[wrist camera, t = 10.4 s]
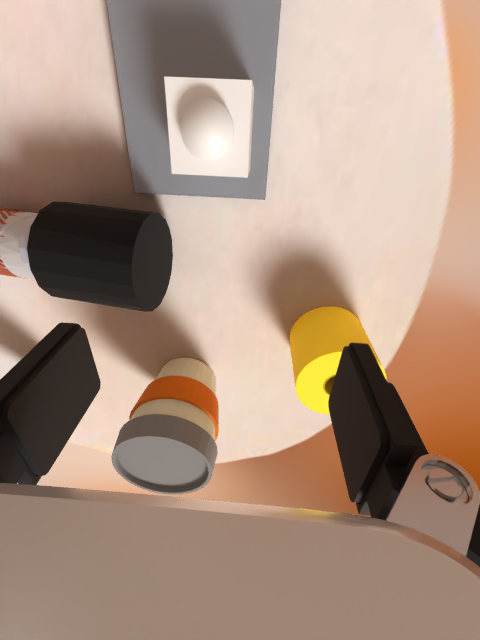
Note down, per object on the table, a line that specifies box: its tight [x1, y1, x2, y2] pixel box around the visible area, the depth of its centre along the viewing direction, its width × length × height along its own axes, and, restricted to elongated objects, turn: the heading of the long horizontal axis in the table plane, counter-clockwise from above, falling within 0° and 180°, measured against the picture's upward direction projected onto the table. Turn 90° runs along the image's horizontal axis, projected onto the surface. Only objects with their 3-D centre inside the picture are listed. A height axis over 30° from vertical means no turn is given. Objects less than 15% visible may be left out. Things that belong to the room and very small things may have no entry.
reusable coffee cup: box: [112, 357, 218, 494], centre depth 42 cm, size 13×13×15 cm
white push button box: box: [164, 77, 254, 178], centre depth 25 cm, size 6×6×7 cm
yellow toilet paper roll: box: [290, 306, 386, 415], centre depth 38 cm, size 10×10×9 cm
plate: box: [106, 0, 281, 200], centre depth 27 cm, size 20×14×1 cm
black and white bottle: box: [0, 202, 173, 311], centre depth 33 cm, size 10×34×10 cm
